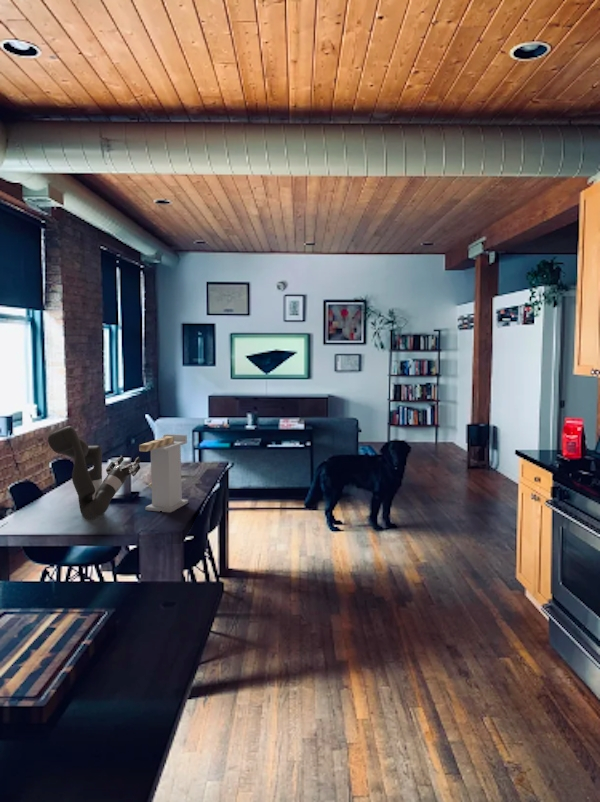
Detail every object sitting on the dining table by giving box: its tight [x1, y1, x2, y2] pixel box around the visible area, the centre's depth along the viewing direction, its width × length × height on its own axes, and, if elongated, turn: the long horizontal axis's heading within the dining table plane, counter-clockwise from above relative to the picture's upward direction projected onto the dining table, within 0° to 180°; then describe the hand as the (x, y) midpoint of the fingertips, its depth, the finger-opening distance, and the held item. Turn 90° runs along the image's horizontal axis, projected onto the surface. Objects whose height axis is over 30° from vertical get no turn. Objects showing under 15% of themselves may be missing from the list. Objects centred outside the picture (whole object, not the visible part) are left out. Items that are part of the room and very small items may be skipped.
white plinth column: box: [144, 433, 189, 513], centre depth 305 cm, size 22×14×35 cm, turn 163°
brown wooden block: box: [138, 436, 174, 453], centre depth 295 cm, size 26×4×3 cm, turn 163°
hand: (130, 457), depth 273 cm, fingers open, 8 cm apart
